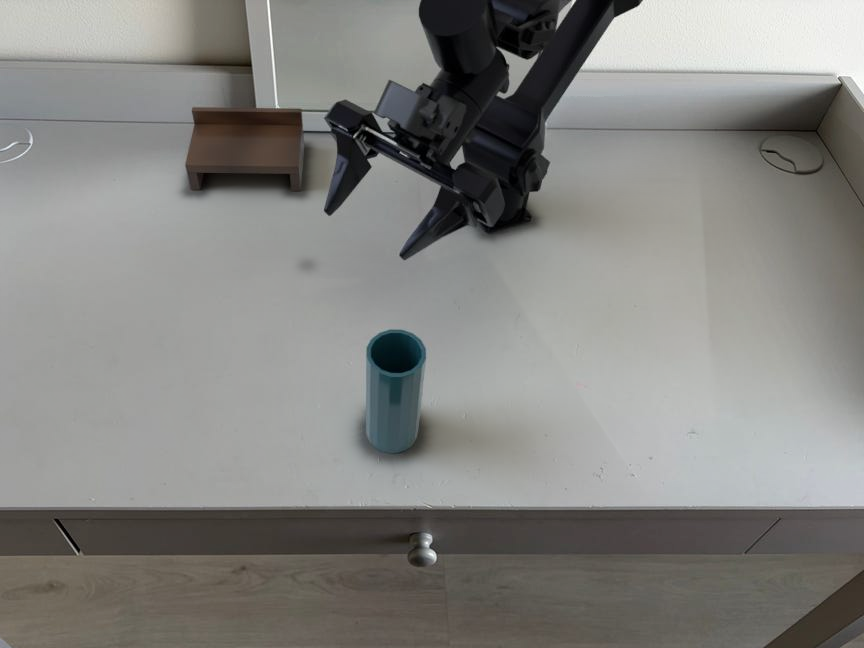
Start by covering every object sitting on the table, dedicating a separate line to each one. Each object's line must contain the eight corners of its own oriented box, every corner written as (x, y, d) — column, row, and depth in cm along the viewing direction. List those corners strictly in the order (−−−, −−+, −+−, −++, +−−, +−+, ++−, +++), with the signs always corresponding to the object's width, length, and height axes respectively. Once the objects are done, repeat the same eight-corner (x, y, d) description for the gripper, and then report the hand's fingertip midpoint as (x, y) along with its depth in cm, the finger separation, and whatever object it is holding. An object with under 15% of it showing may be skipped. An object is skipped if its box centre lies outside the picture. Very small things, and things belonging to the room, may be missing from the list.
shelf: (304, 146, 105) (301, 108, 100) (300, 191, 99) (297, 153, 95) (200, 145, 104) (192, 106, 100) (190, 190, 99) (181, 151, 94)
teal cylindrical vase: (405, 402, 80) (411, 322, 70) (426, 443, 77) (435, 365, 67) (358, 418, 79) (357, 339, 69) (377, 460, 76) (379, 384, 66)
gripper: (354, 10, 70) (254, 152, 69) (530, 91, 63) (421, 249, 62) (388, 81, 80) (302, 205, 79) (542, 157, 73) (449, 293, 73)
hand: (363, 235), depth 73 cm, fingers open, 9 cm apart
